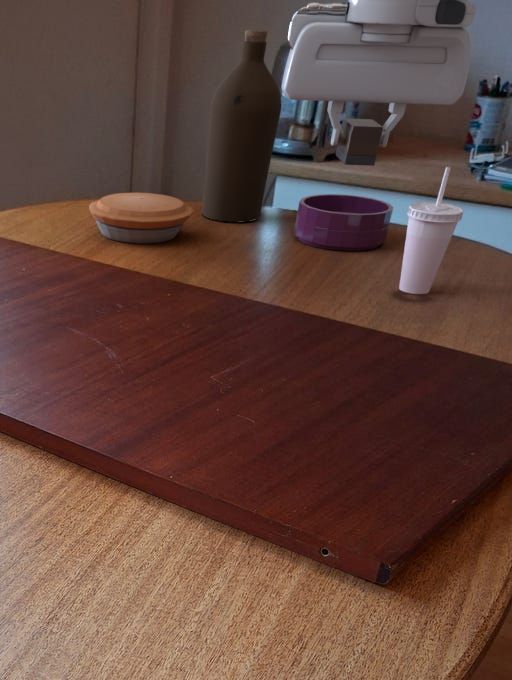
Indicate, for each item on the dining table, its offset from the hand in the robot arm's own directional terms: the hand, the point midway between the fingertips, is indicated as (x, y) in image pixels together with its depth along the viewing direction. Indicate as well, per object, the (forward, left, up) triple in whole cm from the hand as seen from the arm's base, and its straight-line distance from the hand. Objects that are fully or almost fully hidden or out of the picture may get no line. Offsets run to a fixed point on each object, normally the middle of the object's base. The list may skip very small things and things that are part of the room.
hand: (358, 145), depth 105 cm
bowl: (-5, -22, -16) cm, 28 cm away
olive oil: (+10, -35, -16) cm, 40 cm away
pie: (+25, -21, -16) cm, 36 cm away
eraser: (0, 0, -2) cm, 2 cm away
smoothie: (-10, +2, -16) cm, 19 cm away
